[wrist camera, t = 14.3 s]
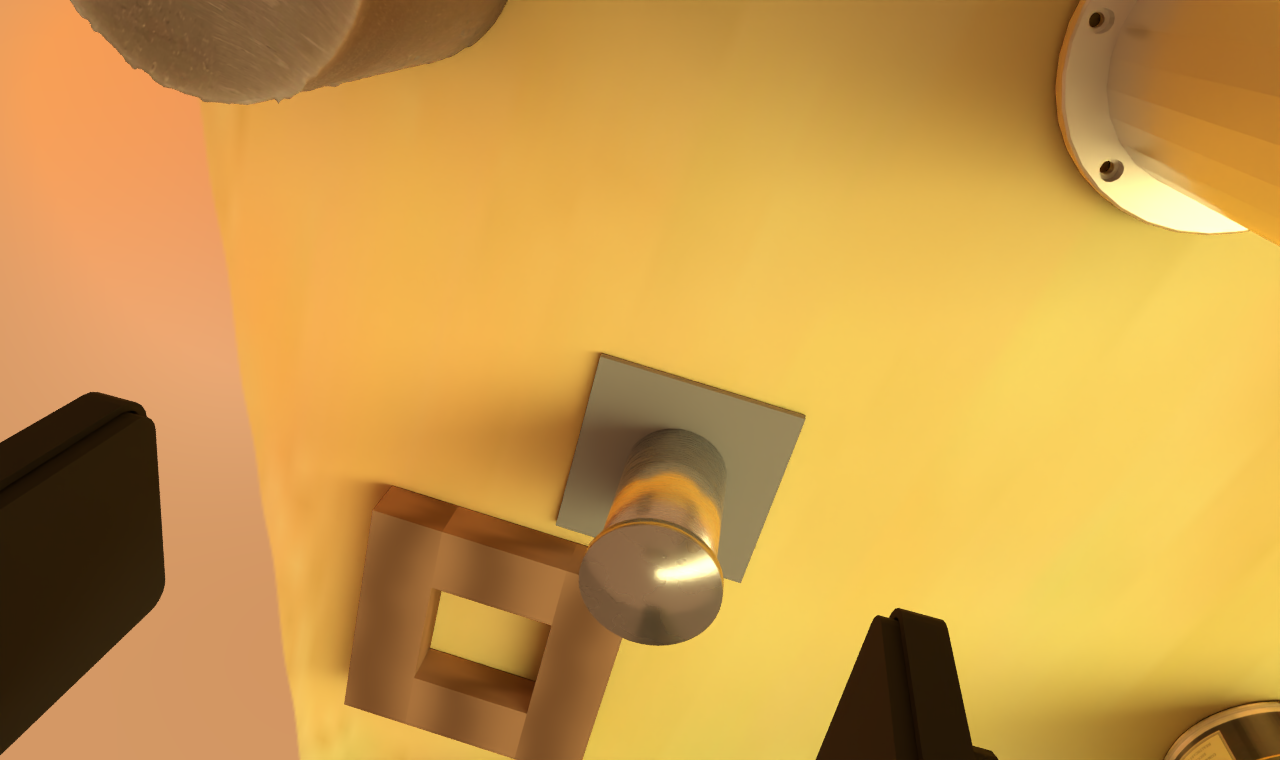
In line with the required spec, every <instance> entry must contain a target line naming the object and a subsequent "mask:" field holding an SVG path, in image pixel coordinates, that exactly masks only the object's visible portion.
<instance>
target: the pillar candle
mask: <svg viewBox="0 0 1280 760" xmlns="http://www.w3.org/2000/svg"><path fill="white" fill-rule="evenodd" d="M70 1H71V2H72V4H73V5H74V7H75V9H76V11H77V12H78V13H79V14H80V15H81V16H82V17H83V18H85V19H87V20H88V21H89V22H90V24H91V27H92V29H93V30H94V31H95V32H99V33H100V34H102V36H103V37H104V38H105V39H106V40H107V41H108V42H109V43H110V44H112V45H113V47H114V48H116V49H117V51H118V52H119V53H120V54H121V55H122V56H123V57H124V59H125V61H126V62H127V63H128V64H130V65H131V67H132V68H133V69H137V68H138V69H142V70H144V71H145V72H146V73H148V74H149V75H150V76H151V77H152V79H153V80H154V81H156V82H157V83H159V84H160V85H162V86H163V87H167V88H172V89H175V90H178V91H180V92H182V93H184V94H188V95H192V96H195V97H199V98H200V99H201V100H202V101H204V102H218V103H226V104H231V103H234V104H244V105H249V104H255V103H259V102H264V101H268V100H272V99H275V100H277V102H278V104H279V102H280V101H281V100H283V99H290V98H292V97H293V96H294V95H296V94H298V93H299V92H302V91H310V90H313V89H316V88H320V87H324V86H333V87H336V86H338V85H340V84H342V83H345V82H350V81H354V80H358V79H361V78H366V77H371V76H374V75H379V74H383V73H388V72H393V71H396V70H400V69H403V68H408V67H413V66H418V65H422V64H429V63H433V62H435V61H438V60H442V59H444V58H446V57H451V56H453V55H455V54H457V53H458V52H459V51H461V50H462V49H464V48H465V47H470V46H472V45H473V44H475V43H476V42H477V41H478V40H479V39H480V38H481V37H482V36H483V35H484V34H485V33H486V32H487V31H488V30H489V29H490V28H491V26H492V25H493V24H494V23H495V21H496V20H497V18H498V17H499V15H500V14H501V12H502V10H503V8H504V6H505V5H506V2H507V0H70Z"/></svg>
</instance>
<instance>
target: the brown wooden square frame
mask: <svg viewBox="0 0 1280 760" xmlns="http://www.w3.org/2000/svg"><path fill="white" fill-rule="evenodd" d="M587 548H588V547H587V546H584V545H581V544H577V543H574V542H571V541H568V540H565V539H561V538H558V537H555V536H552V535H549V534H545V533H542V532H539V531H536V530H533V529H529V528H526V527H523V526H520V525H517V524H513V523H510V522H507V521H504V520H501V519H497V518H494V517H491V516H488V515H485V514H481V513H478V512H475V511H472V510H469V509H465V508H462V507H459V506H456V505H453V504H449V503H446V502H443V501H440V500H437V499H433V498H430V497H427V496H424V495H421V494H417V493H414V492H411V491H408V490H405V489H402V488H398V487H395V486H391V488H390V489H389V490H388V491H387V493H386V494H385V495H384V496H383V498H382V499H381V500H380V502H379V503H378V504H377V505H376V507H375V508H374V509H373V512H372V518H371V525H370V532H369V539H368V546H367V552H366V559H365V566H364V573H363V580H362V587H361V593H360V600H359V607H358V614H357V621H356V627H355V634H354V641H353V648H352V655H351V662H350V668H349V675H348V682H347V689H346V696H345V703H344V704H345V705H348V706H351V707H354V708H357V709H361V710H364V711H367V712H370V713H373V714H376V715H379V716H382V717H385V718H389V719H392V720H395V721H398V722H401V723H404V724H407V725H410V726H413V727H417V728H420V729H423V730H426V731H429V732H432V733H435V734H438V735H441V736H445V737H448V738H451V739H454V740H457V741H460V742H463V743H466V744H469V745H473V746H476V747H479V748H482V749H485V750H488V751H491V752H494V753H497V754H501V755H504V756H507V757H510V758H513V759H516V760H582V759H583V756H584V753H585V750H586V747H587V744H588V740H589V737H590V734H591V731H592V728H593V725H594V722H595V719H596V716H597V713H598V710H599V707H600V704H601V701H602V698H603V695H604V692H605V689H606V686H607V683H608V680H609V677H610V674H611V671H612V668H613V665H614V661H615V658H616V655H617V652H618V649H619V646H620V643H621V640H622V637H620V636H618V635H616V634H614V633H612V632H611V631H609V630H608V629H606V628H605V627H604V626H603V625H601V624H600V623H599V622H598V621H597V620H596V619H595V618H594V617H593V615H592V614H591V613H590V612H589V610H588V608H587V607H586V605H585V603H584V601H583V599H582V596H581V593H580V589H579V571H580V566H581V563H582V560H583V557H584V555H585V552H586V550H587ZM441 591H444V592H447V593H450V594H453V595H456V596H459V597H463V598H466V599H469V600H472V601H475V602H478V603H482V604H485V605H488V606H491V607H494V608H497V609H501V610H504V611H507V612H510V613H513V614H516V615H520V616H523V617H526V618H529V619H532V620H535V621H539V622H542V623H545V624H548V625H551V629H550V633H549V636H548V640H547V643H546V647H545V651H544V654H543V658H542V661H541V665H540V668H539V672H538V676H537V679H536V682H535V681H531V680H528V679H525V678H522V677H519V676H516V675H513V674H509V673H506V672H503V671H500V670H497V669H494V668H491V667H487V666H484V665H481V664H478V663H475V662H472V661H469V660H465V659H462V658H459V657H456V656H453V655H450V654H447V653H443V652H440V651H437V650H434V649H431V648H430V645H431V640H432V635H433V630H434V625H435V620H436V615H437V610H438V605H439V600H440V595H441Z"/></svg>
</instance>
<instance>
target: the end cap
mask: <svg viewBox="0 0 1280 760" xmlns="http://www.w3.org/2000/svg"><path fill="white" fill-rule="evenodd" d="M726 482H727V470H726V465H725V462H724V460H723V458H722V456H721V454H720V452H719V451H718V450H717V448H716V447H715V446H714V445H713V444H712V443H711V442H709V441H708V440H707V439H705V438H704V437H702V436H700V435H698V434H696V433H694V432H691V431H687V430H683V429H663V430H658V431H655V432H652V433H650V434H648V435H646V436H645V437H643V438H642V439H641V440H639V441H638V442H637V443H636V444H635V446H634V447H633V448H632V450H631V452H630V454H629V456H628V459H627V462H626V465H625V468H624V470H623V473H622V476H621V479H620V482H619V485H618V488H617V491H616V494H615V497H614V500H613V503H612V506H611V509H610V512H609V515H608V518H607V520H606V523H605V526H604V529H603V531H602V532H601V533H599V534H598V535H597V536H596V537H595V538H594V539H593V541H592V542H591V543H590V545H589V546H588V548H587V550H586V552H585V555H584V557H583V560H582V563H581V566H580V571H579V589H580V593H581V596H582V599H583V601H584V603H585V605H586V607H587V608H588V610H589V612H590V613H591V614H592V615H593V617H594V618H595V619H596V620H597V621H598V622H599V623H600V624H601V625H603V626H604V627H605V628H606V629H608V630H609V631H611V632H612V633H614V634H616V635H618V636H620V637H622V638H624V639H627V640H629V641H632V642H636V643H640V644H646V645H657V646H659V645H671V644H677V643H681V642H684V641H687V640H689V639H692V638H693V637H695V636H697V635H699V634H700V633H702V632H703V631H704V630H705V629H706V628H707V627H708V626H709V625H710V624H711V623H712V622H713V621H714V619H715V618H716V616H717V614H718V612H719V610H720V606H721V603H722V596H723V587H724V582H723V573H722V569H721V566H720V563H719V561H718V559H717V554H718V546H719V538H720V530H721V522H722V514H723V506H724V498H725V490H726Z"/></svg>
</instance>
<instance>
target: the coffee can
mask: <svg viewBox="0 0 1280 760" xmlns="http://www.w3.org/2000/svg"><path fill="white" fill-rule="evenodd" d="M1164 760H1280V701H1276V702H1258V703H1251V704H1246V705H1241V706H1238V707H1234V708H1230V709H1227V710H1224V711H1222V712H1219V713H1216V714H1214V715H1212V716H1210V717H1208V718H1206V719H1204V720H1202V721H1200V722H1199V723H1197V724H1196V725H1194V726H1193V727H1191V728H1190V729H1188V730H1187V731H1186V732H1185V733H1184V734H1182V735H1181V736H1180V737H1179V738H1178V740H1177V741H1176V742H1175V743H1174V744H1173V745H1172V747H1171V748H1170V750H1169V751H1168V753H1167V755H1166V757H1165V759H1164Z"/></svg>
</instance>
